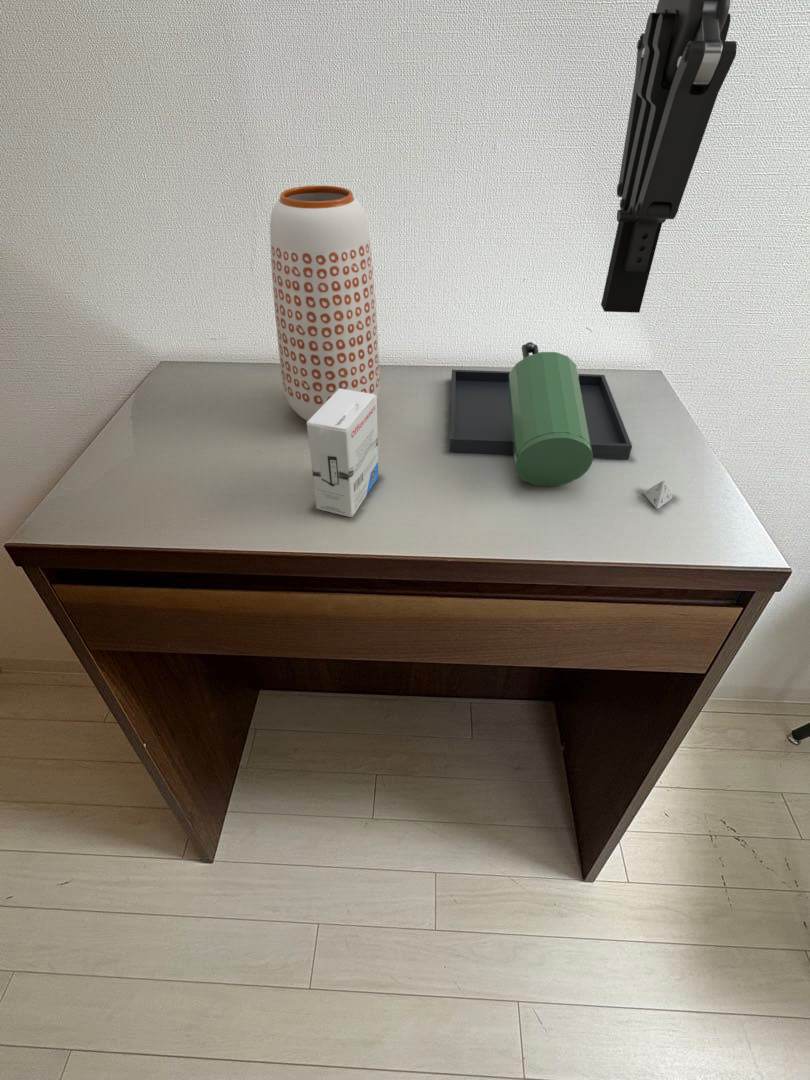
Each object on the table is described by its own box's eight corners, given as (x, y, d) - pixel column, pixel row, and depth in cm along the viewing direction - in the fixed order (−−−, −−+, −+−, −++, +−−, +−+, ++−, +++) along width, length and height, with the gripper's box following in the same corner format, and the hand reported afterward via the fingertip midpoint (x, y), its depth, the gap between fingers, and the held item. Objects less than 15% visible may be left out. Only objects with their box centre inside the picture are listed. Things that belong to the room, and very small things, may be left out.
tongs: (539, 486, 86) (536, 345, 89) (558, 465, 75) (554, 305, 78) (523, 486, 86) (520, 345, 89) (539, 465, 75) (536, 305, 78)
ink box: (344, 470, 78) (338, 384, 70) (380, 478, 77) (378, 392, 69) (313, 509, 72) (303, 420, 64) (352, 519, 70) (347, 429, 63)
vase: (393, 428, 86) (391, 201, 67) (299, 445, 82) (269, 212, 64) (364, 385, 95) (355, 177, 76) (278, 400, 91) (247, 185, 73)
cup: (598, 476, 74) (583, 393, 81) (586, 429, 67) (570, 343, 74) (525, 493, 77) (517, 410, 84) (506, 449, 70) (499, 364, 77)
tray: (601, 386, 95) (604, 374, 94) (628, 459, 80) (632, 446, 79) (451, 381, 96) (451, 369, 95) (449, 452, 81) (450, 438, 80)
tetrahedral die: (639, 511, 73) (645, 496, 71) (642, 492, 75) (648, 477, 72) (670, 516, 73) (677, 502, 70) (672, 497, 74) (679, 482, 71)
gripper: (626, -112, 38) (561, 279, 54) (684, -152, 29) (584, 341, 44) (750, -112, 38) (649, 282, 53) (851, -153, 28) (691, 344, 44)
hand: (620, 308), depth 49 cm, fingers closed
